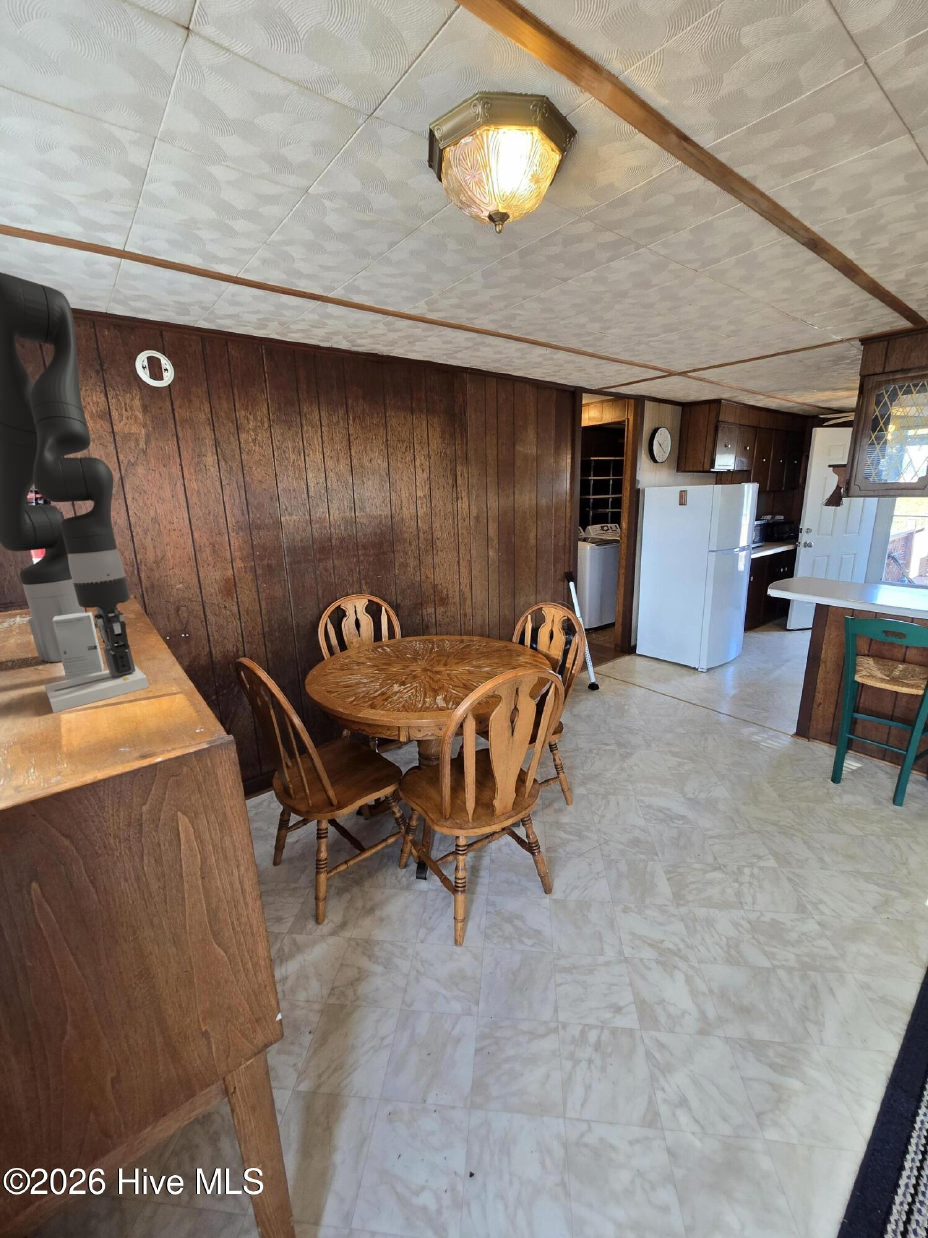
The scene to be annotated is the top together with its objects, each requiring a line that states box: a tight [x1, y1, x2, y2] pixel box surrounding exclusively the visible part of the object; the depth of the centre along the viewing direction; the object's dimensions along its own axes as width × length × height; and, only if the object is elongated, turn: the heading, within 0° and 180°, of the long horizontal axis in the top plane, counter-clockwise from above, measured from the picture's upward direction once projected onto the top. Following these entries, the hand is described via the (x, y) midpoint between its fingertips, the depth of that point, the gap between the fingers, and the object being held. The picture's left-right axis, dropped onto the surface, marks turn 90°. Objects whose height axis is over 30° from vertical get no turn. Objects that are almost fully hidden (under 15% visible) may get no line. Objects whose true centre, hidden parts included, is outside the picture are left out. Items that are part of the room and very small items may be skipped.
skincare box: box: [52, 611, 105, 680], centre depth 97 cm, size 6×4×12 cm
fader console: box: [44, 664, 150, 714], centre depth 88 cm, size 14×11×2 cm
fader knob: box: [102, 643, 136, 677], centre depth 90 cm, size 4×3×5 cm
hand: (122, 669), depth 91 cm, fingers closed on fader knob, 3 cm apart
